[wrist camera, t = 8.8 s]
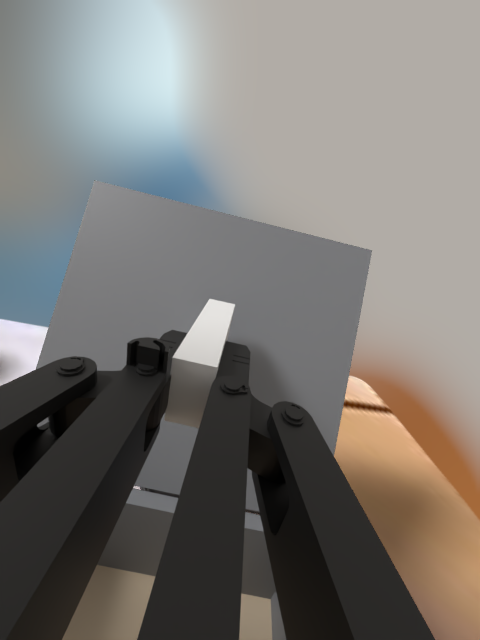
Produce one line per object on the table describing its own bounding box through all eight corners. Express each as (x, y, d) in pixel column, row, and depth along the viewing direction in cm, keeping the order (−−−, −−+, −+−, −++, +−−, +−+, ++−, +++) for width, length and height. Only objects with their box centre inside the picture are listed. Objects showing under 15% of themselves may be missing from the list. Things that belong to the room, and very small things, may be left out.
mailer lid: (94, 180, 16) (102, 189, 17) (7, 458, 14) (22, 451, 15) (372, 250, 16) (363, 255, 17) (321, 524, 15) (314, 513, 16)
